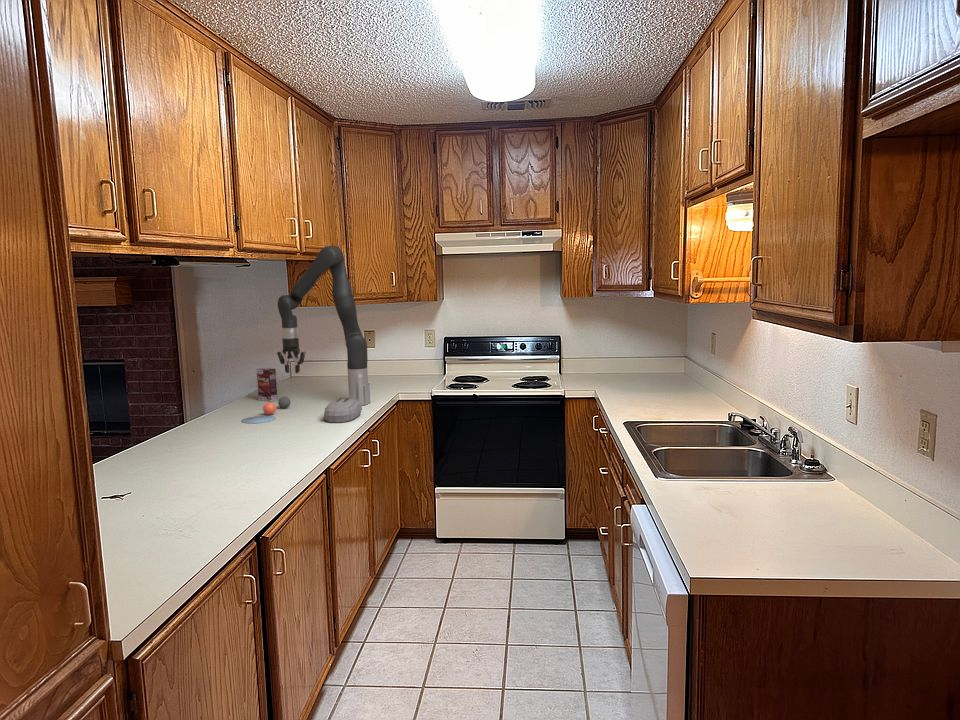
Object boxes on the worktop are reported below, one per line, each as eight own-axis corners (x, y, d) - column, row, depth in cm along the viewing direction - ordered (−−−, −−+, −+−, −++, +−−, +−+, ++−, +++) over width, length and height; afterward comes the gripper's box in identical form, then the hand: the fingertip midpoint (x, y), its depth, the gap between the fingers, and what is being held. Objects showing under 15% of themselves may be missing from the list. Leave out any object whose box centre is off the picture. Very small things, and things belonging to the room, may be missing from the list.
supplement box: (258, 400, 323) (255, 369, 321) (265, 398, 327) (263, 367, 325) (270, 401, 319) (268, 369, 317) (278, 400, 323) (276, 368, 321)
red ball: (278, 413, 291) (277, 401, 290) (272, 416, 285) (271, 403, 284) (267, 413, 292) (266, 401, 291) (261, 416, 286) (260, 403, 285)
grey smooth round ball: (292, 407, 304) (292, 395, 303) (287, 409, 299) (286, 397, 298) (282, 406, 305) (281, 395, 304) (276, 409, 300) (275, 397, 299)
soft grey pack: (333, 413, 288) (318, 424, 269) (332, 395, 287) (317, 404, 268) (366, 413, 287) (353, 424, 267) (365, 395, 286) (352, 404, 266)
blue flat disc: (281, 416, 284) (281, 416, 284) (265, 423, 271) (265, 423, 270) (251, 415, 287) (251, 415, 287) (234, 423, 273) (234, 422, 273)
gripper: (272, 338, 305) (274, 373, 307) (300, 337, 303) (303, 374, 305) (280, 336, 312) (282, 371, 315) (307, 336, 310) (309, 371, 312)
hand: (292, 372), depth 310 cm, fingers open, 4 cm apart
